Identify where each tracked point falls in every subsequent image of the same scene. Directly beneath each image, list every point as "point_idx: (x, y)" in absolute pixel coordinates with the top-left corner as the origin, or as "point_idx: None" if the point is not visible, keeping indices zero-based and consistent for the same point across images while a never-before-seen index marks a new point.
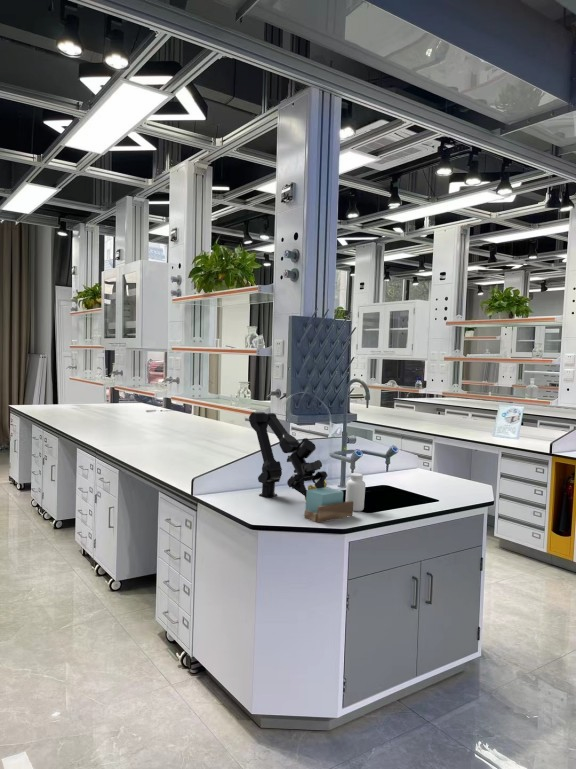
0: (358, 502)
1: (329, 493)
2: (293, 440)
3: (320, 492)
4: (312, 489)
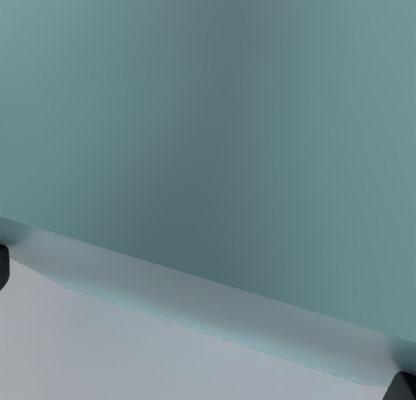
0: None
1: None
2: None
3: None
4: (408, 318)
